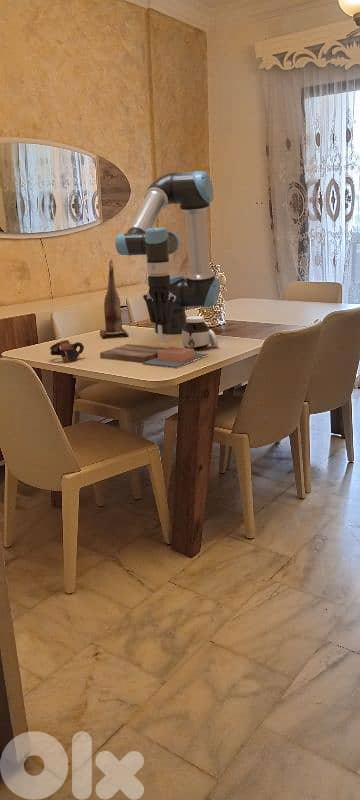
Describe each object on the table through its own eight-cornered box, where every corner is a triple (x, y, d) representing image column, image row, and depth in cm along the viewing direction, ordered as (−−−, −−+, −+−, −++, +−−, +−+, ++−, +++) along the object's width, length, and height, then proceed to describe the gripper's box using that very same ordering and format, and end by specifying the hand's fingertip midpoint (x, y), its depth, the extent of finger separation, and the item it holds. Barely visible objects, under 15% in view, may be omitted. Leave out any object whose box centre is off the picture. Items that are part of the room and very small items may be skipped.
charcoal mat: (175, 352, 233) (175, 351, 233) (208, 355, 225) (207, 354, 225) (142, 364, 217) (142, 362, 217) (176, 368, 209) (176, 366, 209)
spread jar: (179, 348, 240) (178, 317, 236) (200, 343, 247) (199, 313, 244) (202, 352, 231) (201, 320, 228) (223, 347, 239) (222, 316, 235)
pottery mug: (57, 366, 222) (47, 345, 223) (56, 372, 231) (47, 352, 232) (88, 353, 225) (79, 333, 226) (87, 360, 234) (78, 340, 235)
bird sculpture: (103, 340, 264) (98, 261, 254) (98, 334, 275) (93, 259, 265) (129, 338, 267) (125, 260, 257) (124, 332, 277) (120, 257, 267)
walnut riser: (127, 349, 242) (127, 344, 242) (171, 353, 232) (170, 348, 231) (100, 357, 230) (100, 352, 229) (145, 363, 219) (144, 357, 218)
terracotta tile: (170, 354, 227) (170, 346, 226) (194, 357, 221) (194, 348, 220) (157, 359, 220) (157, 351, 219) (181, 362, 215) (181, 353, 214)
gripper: (136, 275, 216) (141, 343, 223) (168, 276, 209) (171, 346, 216) (149, 273, 222) (153, 339, 229) (180, 273, 215) (183, 342, 222)
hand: (162, 342), depth 223 cm, fingers closed
